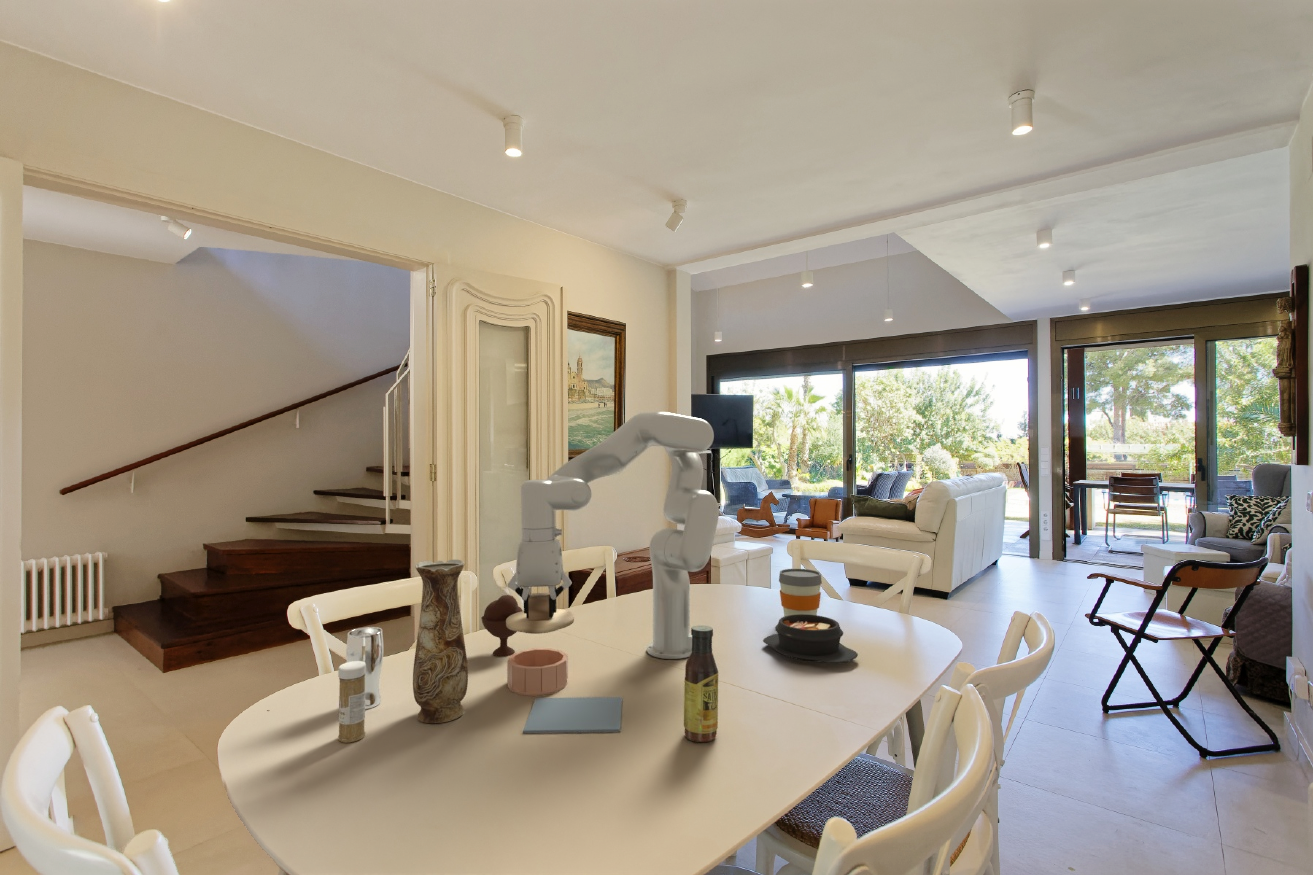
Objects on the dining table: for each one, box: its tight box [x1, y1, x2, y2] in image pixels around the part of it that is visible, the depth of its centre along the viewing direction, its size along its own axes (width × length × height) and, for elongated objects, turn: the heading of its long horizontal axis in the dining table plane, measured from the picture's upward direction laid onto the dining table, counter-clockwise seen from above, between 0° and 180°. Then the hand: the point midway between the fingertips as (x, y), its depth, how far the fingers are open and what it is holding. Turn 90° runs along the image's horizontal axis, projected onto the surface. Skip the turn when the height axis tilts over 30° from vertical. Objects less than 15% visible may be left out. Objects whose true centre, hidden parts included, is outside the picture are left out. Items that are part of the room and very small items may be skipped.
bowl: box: [506, 647, 569, 697], centre depth 142 cm, size 13×13×6 cm
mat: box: [522, 696, 623, 734], centre depth 126 cm, size 18×15×1 cm
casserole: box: [762, 614, 859, 665], centre depth 162 cm, size 25×19×8 cm
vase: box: [412, 559, 469, 724], centre depth 127 cm, size 10×11×30 cm
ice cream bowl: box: [481, 594, 524, 657], centre depth 163 cm, size 11×11×15 cm
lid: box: [506, 592, 575, 635], centre depth 143 cm, size 15×15×7 cm
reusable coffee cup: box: [778, 568, 823, 617], centre depth 190 cm, size 13×13×15 cm
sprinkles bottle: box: [337, 661, 366, 744], centre depth 116 cm, size 5×5×14 cm
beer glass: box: [345, 626, 384, 711], centre depth 131 cm, size 7×7×15 cm
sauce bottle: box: [683, 624, 719, 743], centre depth 117 cm, size 7×6×20 cm
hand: (540, 615), depth 143 cm, fingers closed on lid, 4 cm apart
